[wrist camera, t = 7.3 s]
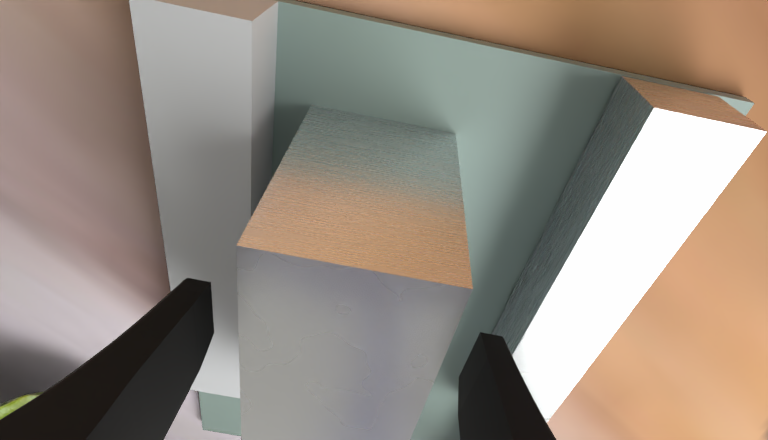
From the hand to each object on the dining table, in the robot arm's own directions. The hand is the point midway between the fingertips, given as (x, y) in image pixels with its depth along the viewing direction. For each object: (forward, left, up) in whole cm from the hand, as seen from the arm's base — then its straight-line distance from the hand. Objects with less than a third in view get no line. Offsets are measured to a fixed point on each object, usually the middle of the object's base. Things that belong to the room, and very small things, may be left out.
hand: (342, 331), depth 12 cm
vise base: (-3, -1, -4) cm, 5 cm away
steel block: (0, 0, -4) cm, 4 cm away
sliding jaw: (-3, -7, -3) cm, 8 cm away
